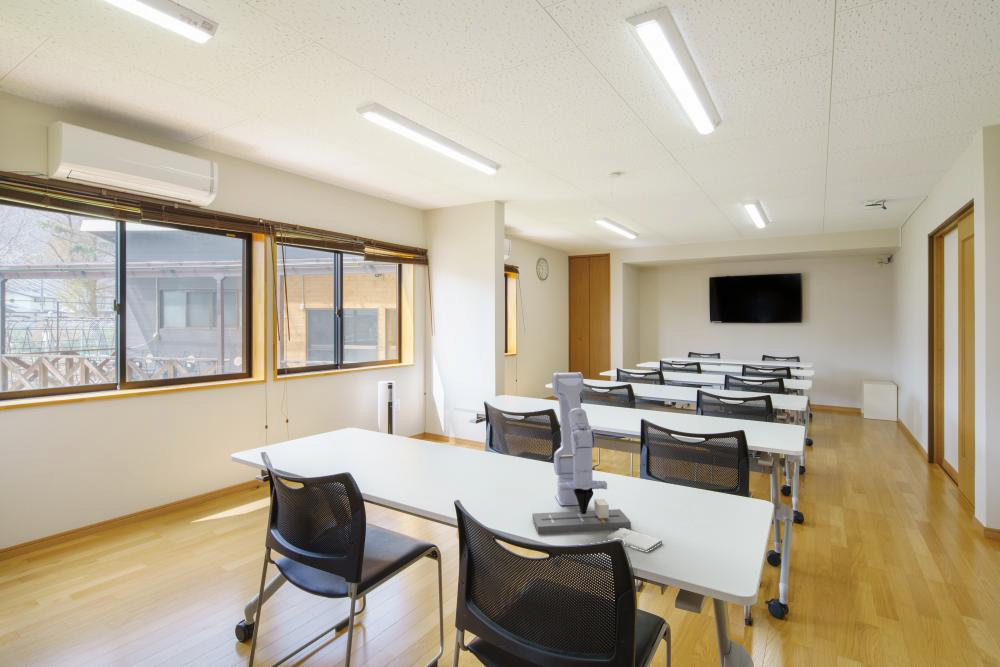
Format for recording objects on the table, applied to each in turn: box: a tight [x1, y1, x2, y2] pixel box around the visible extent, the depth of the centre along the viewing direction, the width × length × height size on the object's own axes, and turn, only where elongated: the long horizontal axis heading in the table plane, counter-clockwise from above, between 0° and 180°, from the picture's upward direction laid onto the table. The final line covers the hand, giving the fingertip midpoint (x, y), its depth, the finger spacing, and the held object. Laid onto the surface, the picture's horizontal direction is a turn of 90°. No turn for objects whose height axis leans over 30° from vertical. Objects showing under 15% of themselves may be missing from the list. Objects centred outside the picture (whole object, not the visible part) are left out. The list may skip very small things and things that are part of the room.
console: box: [531, 508, 632, 534], centre depth 156 cm, size 10×28×2 cm, turn 95°
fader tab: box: [593, 498, 610, 518], centre depth 156 cm, size 5×3×4 cm, turn 5°
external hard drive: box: [607, 528, 663, 551], centre depth 144 cm, size 2×8×12 cm
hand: (583, 512), depth 156 cm, fingers closed
